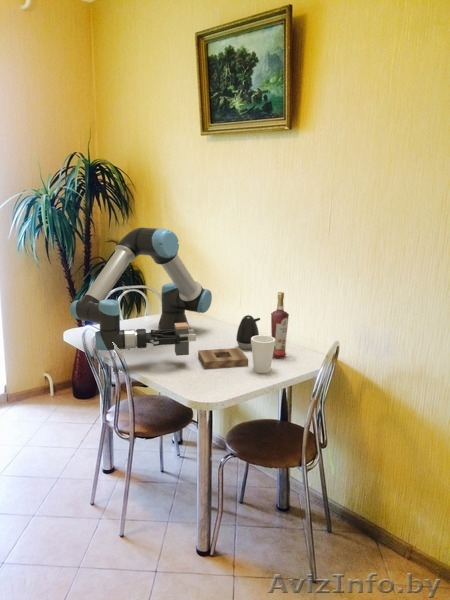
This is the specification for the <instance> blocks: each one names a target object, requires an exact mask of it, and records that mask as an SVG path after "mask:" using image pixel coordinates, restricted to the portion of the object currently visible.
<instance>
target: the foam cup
mask: <svg viewBox="0 0 450 600" xmlns="http://www.w3.org/2000/svg"><path fill="white" fill-rule="evenodd" d="M251 345H252V349H251V352H252V362H253V364H252V365H253V371H254V372H255V373H258V374H267V373H270V371H271V368H272V361H273V358H274V357H273V352H274V346H275V338H273V337H271V336H270V335H265V334H263V335H262V334H261V335H260V334H259V335H258V336H253V337H252V338H251Z"/></svg>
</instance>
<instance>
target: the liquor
mask: <svg viewBox="0 0 450 600" xmlns="http://www.w3.org/2000/svg"><path fill="white" fill-rule="evenodd" d="M284 298H285V292H284V291H283V292H282V291H281V292H280V291H279V292H277V304H276V309H275V310H274V311H273V312H271V313H270V321H271V322H270V323H271V324H270V325H271V326H270V327H271V330H270V331H271V337H273V338H275V346H274V352H273V357H272V358H275V359H283V358H285V356H287V352H286V348H287V334H288V328H289V327H288V326H289V315H290V314H289V313H288V312H287V311H285V310H284V309H285V308H284V307H285V306H284Z"/></svg>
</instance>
